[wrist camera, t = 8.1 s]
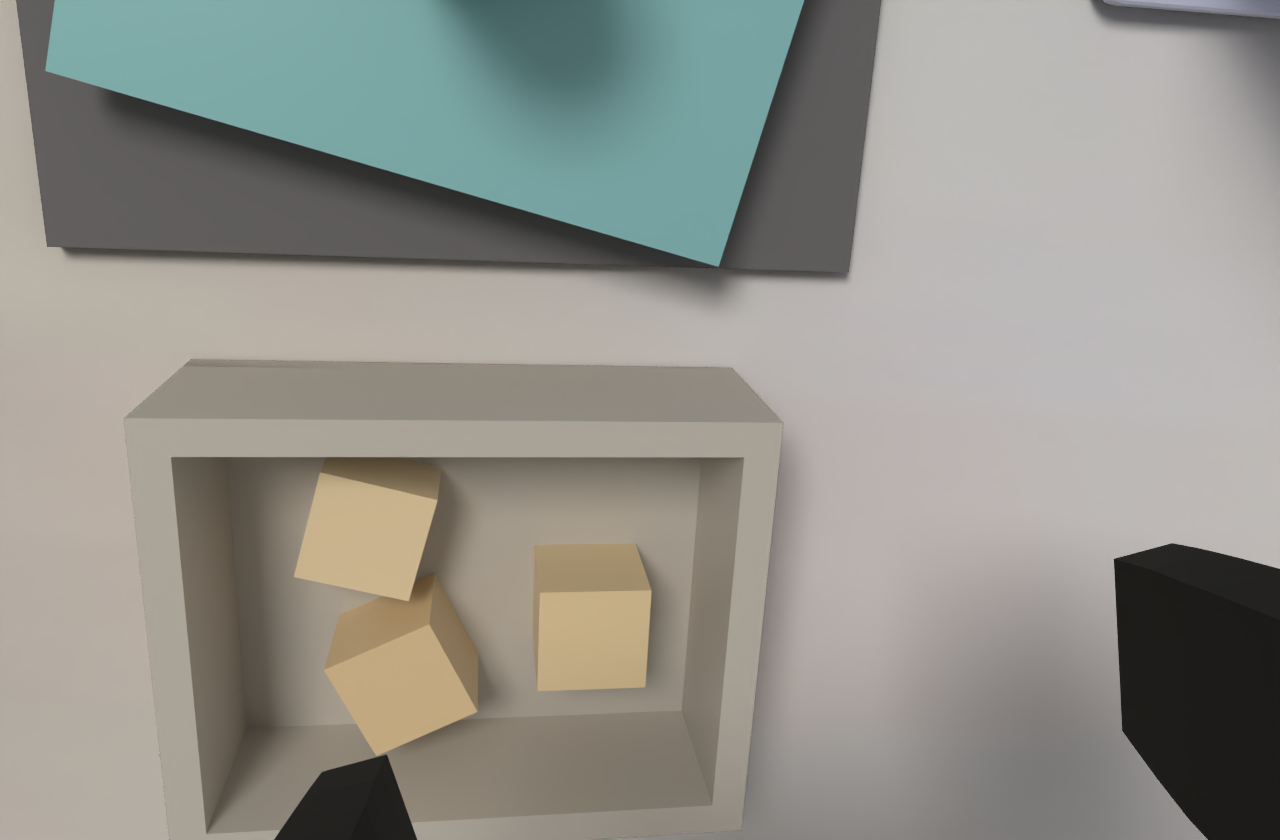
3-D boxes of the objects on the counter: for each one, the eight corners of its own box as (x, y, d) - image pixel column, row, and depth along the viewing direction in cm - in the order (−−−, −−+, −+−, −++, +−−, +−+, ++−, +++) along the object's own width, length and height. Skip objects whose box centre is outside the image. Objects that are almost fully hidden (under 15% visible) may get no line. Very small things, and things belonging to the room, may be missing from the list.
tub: (732, 367, 19) (782, 423, 16) (702, 719, 22) (741, 830, 18) (190, 359, 18) (123, 417, 14) (223, 739, 20) (172, 865, 17)
